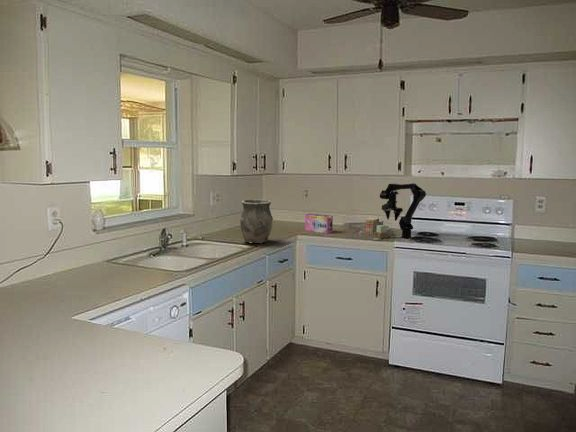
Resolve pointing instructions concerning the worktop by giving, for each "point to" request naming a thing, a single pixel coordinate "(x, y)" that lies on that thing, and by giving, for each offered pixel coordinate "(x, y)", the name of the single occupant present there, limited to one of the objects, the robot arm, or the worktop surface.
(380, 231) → the sage cube
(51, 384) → the worktop surface
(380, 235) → the walnut base block
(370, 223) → the stack of blocks
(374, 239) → the slate card
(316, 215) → the gum box
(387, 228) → the grey cube
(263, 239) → the clay pot
